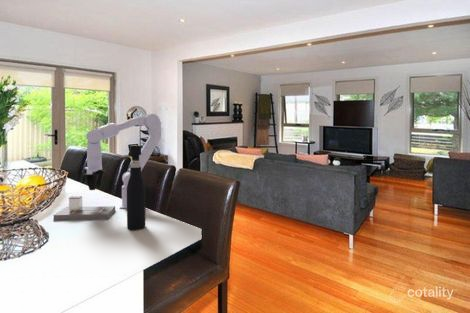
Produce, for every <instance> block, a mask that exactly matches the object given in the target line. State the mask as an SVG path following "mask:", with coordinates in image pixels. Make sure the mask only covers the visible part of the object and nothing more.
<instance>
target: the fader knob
mask: <svg viewBox="0 0 470 313" xmlns="http://www.w3.org/2000/svg"><path fill="white" fill-rule="evenodd" d="M68 207H69V211H80V210H81V209H83V208H82V207H83V196H82V195H72V196H69V198H68Z"/></svg>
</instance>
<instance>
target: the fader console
mask: <svg viewBox="0 0 470 313" xmlns="http://www.w3.org/2000/svg"><path fill="white" fill-rule="evenodd" d="M82 208H83V209H81V210H80V211H69V206H66V207H64V208H62V209H61V210H59V211H58V212H56V213H55V214H53V221H70V220H71V221H72V220H73V221H76V220H77V221H79V220H82V221H84V220H108V219H109V218H110V217H111V216H112V215H113V214H114V213H115V212H116V206H115V205H114V206H113V205H110V206H109V205H107V206H105V205H104V206H103V205H102V206H82Z"/></svg>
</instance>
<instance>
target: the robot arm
mask: <svg viewBox="0 0 470 313" xmlns="http://www.w3.org/2000/svg"><path fill="white" fill-rule="evenodd" d="M135 126H144V127H145V129H146V130H147V132H148V135H149V137H148V138H147V140H146V141H145V143H144V145H143V146H142V147H141V155H139V161H133V162H140V167H141V172H142V170H144V167H145V166H146V164H147V163H148V161H149V159H150V158H151V155H153V152H154V150H155V149H156V147H157V145H158V143H159V141H160V140H161V138H162V122H161V120H160V118H159V116H158V115H157V114H155V113H149V114H145V115H139V116H135V117H133V118H129V119H127V120H125V121H122V122H120V123H114V122H107V123H106V124H105V125H102V126H100V127H99V126H95V129H91V130H89V131H88V132H87V133H86V134H85V135H86V137H85V138H86V140H87V142H86V145H87V146H86V156H87V158H86V160H87V161H86V163H87V164H86V166H85V167H84V170H86V173H83V177H84V178H85V180H86V183H87V186H88V189H89V191H96V188H97V187H101V186H102V180H103V178H104V174H105V172H106V170H105V169H104V170H103V160H102V159H103V158H102V157H103V156H102V145H101V144H102V143H101V140H103V141H104V140H108V139H110V138H112V137H116V136H118V135H119V133H120V131H124V130H126V129H129V128H132V127H135ZM129 177H130V167H129V169H127V171H125V172H124V173H123V174H122V177H121V179H122V183H123V185H121V205H120V206H119V209H127V184H128V180H129Z"/></svg>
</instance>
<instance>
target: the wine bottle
mask: <svg viewBox="0 0 470 313" xmlns="http://www.w3.org/2000/svg"><path fill="white" fill-rule="evenodd" d="M141 150H142V146H141V145H129V156H131V162H130V167H129V168H130V177H129V180H128V184H127V208H126V225H127V226H126V229H127V230H129V231H139V230H144V229H145V228H146V186H145V181H144V179H143V175H142V171H141V167H140V162H134V161H139V155H141Z"/></svg>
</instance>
